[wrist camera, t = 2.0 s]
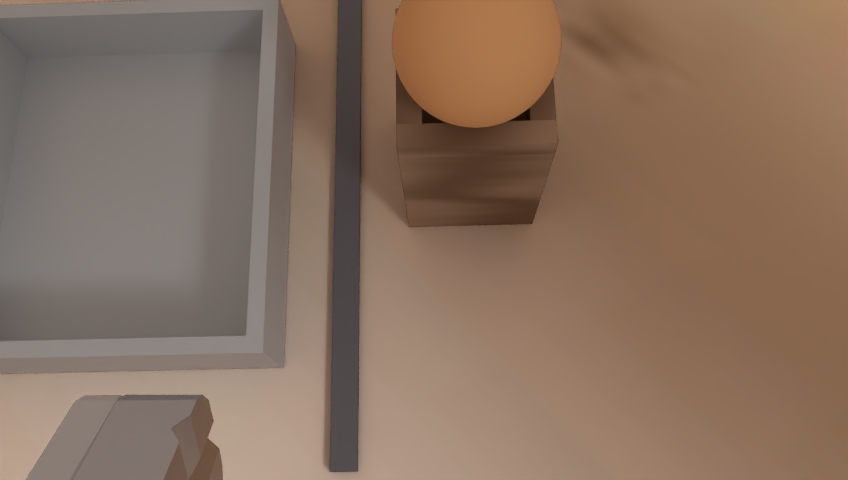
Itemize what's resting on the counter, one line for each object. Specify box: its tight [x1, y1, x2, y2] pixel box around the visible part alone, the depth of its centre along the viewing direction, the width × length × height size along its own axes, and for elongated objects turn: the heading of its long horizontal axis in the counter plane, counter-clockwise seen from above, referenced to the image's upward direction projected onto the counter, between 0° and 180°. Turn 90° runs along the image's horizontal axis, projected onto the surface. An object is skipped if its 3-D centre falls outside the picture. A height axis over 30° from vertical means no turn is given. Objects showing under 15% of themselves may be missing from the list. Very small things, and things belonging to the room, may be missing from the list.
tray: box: [0, 0, 296, 374], centre depth 31 cm, size 12×14×4 cm
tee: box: [396, 9, 558, 227], centre depth 29 cm, size 5×5×8 cm
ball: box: [392, 0, 561, 128], centre depth 23 cm, size 5×5×5 cm
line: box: [330, 0, 362, 472], centre depth 32 cm, size 1×22×1 cm, turn 1°
